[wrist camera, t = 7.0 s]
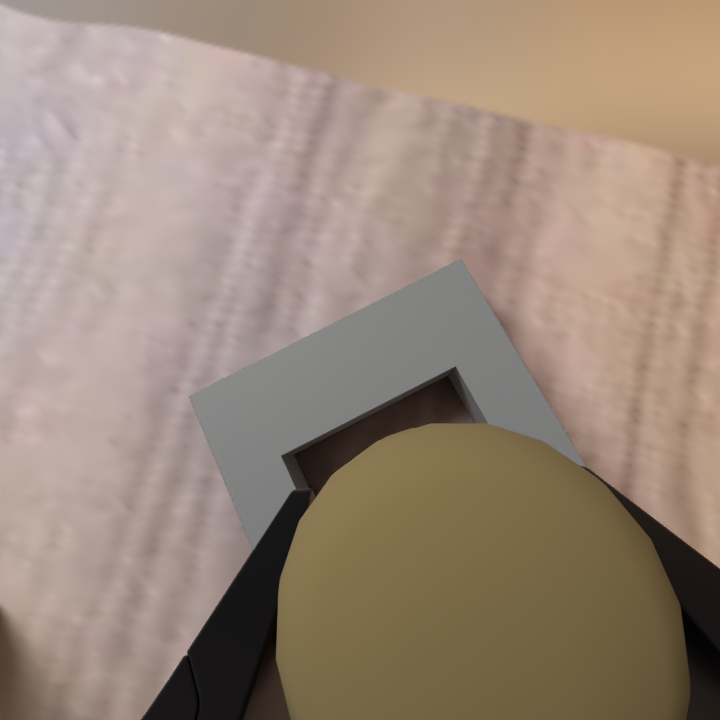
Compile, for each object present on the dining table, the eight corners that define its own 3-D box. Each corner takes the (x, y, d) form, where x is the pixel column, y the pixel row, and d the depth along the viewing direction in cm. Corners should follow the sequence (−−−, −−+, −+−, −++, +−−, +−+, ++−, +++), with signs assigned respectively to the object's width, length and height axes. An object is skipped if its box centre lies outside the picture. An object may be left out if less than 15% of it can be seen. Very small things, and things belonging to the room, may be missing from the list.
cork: (535, 597, 14) (934, 1032, 4) (354, 622, 15) (224, 1087, 4) (495, 414, 16) (699, 335, 5) (329, 441, 16) (180, 421, 5)
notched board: (702, 703, 17) (754, 745, 15) (409, 864, 17) (413, 935, 14) (452, 280, 21) (461, 258, 19) (212, 402, 21) (188, 396, 18)
